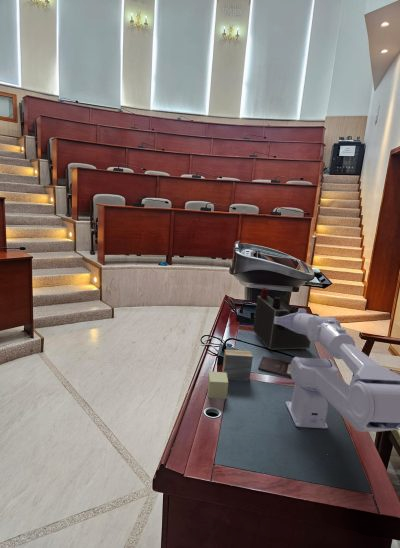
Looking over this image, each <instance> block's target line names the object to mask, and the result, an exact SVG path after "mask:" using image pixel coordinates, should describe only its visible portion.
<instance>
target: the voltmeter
mask: <svg viewBox="0 0 400 548" xmlns="http://www.w3.org/2000/svg"><path fill="white" fill-rule="evenodd" d="M268 294H269V288H267V287H263V288H261V293H260V295H257V297H256V298H257V299H256V304H255V305H256V307H255V313H254V321H253V329H252V331H253V332H254V333H255V334H256V336H257V338H259V339H260V340H261V342H263V344H264V346H266V347H267V348H268V350H269V349H271V350H285V349H286V350H288V349H289V350H290V349H292V350H293V349H298V350H299V351H304V350H305V349H310V348H311V345H312V344H311V343H312V342H311V341H310V339H309V338H308V336H306V335H303V334H299V333H296V332H294V331H292V330H290V329H288V328H286V327H285V331H283V330H278V329H277V324H274V318H275V317H277V315H278V311H287V315H290V314H293V313H296V312H295V310H294V309H293V308H292V307H291V306H289V305H287V303H285V302H284V301H282V300H281V299H282V298H281V297H280V296H274V297H273V298H272V297H271V296H269V295H268ZM271 350H270V351H271Z"/></svg>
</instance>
